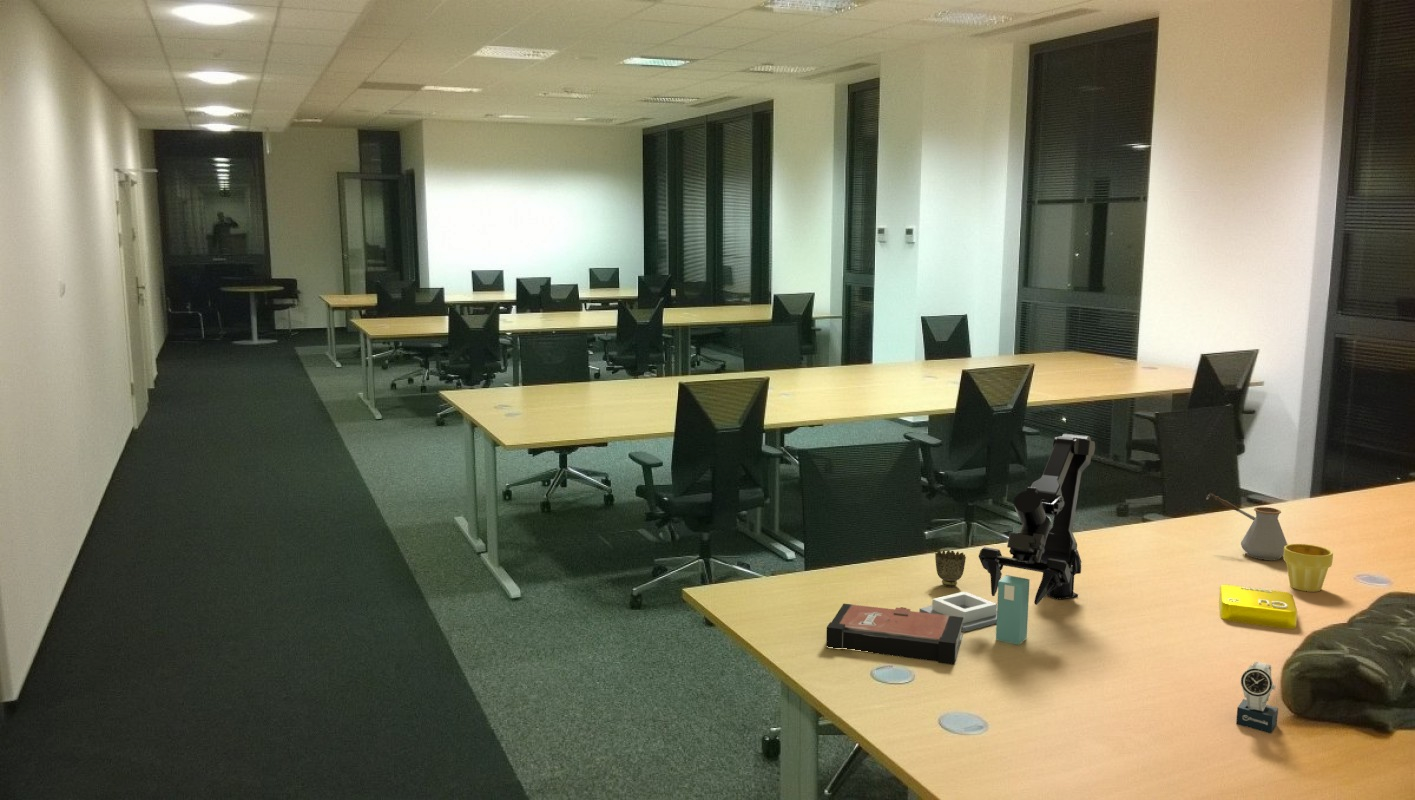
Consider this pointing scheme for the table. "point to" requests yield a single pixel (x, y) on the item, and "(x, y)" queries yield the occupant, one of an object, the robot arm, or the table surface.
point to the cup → (950, 567)
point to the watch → (1257, 699)
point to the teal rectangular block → (1012, 609)
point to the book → (896, 632)
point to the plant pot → (1307, 566)
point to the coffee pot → (1261, 532)
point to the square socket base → (965, 609)
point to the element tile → (1257, 606)
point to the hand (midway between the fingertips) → (1013, 599)
